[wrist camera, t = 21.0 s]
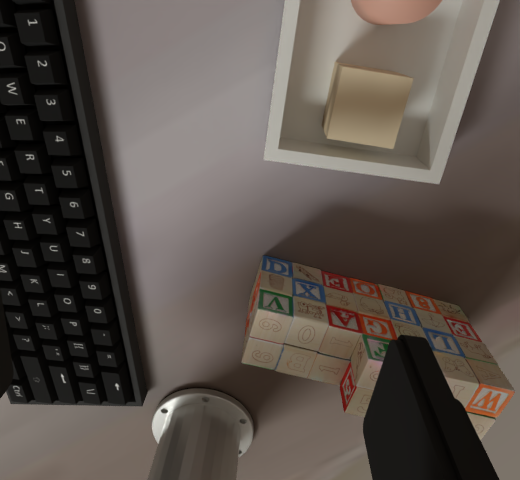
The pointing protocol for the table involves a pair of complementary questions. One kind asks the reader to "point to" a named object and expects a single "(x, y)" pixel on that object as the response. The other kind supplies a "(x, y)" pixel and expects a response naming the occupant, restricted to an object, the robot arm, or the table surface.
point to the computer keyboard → (59, 222)
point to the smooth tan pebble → (394, 10)
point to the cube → (365, 105)
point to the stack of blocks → (363, 336)
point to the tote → (380, 57)
